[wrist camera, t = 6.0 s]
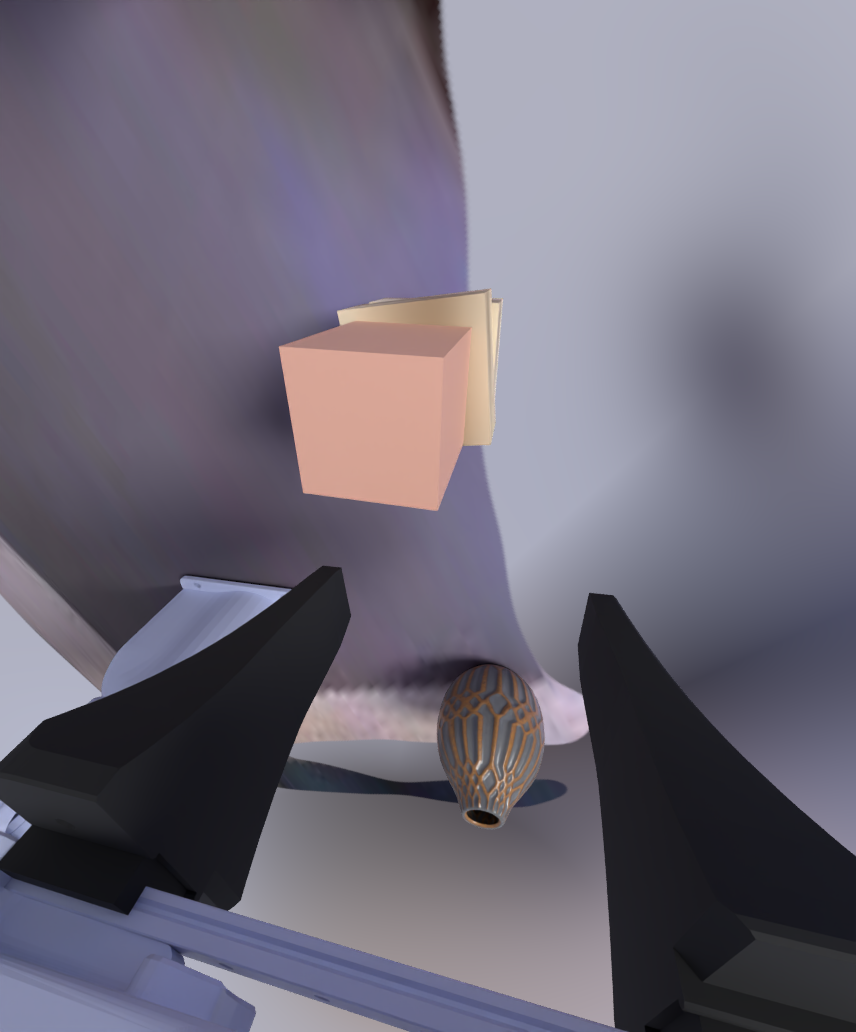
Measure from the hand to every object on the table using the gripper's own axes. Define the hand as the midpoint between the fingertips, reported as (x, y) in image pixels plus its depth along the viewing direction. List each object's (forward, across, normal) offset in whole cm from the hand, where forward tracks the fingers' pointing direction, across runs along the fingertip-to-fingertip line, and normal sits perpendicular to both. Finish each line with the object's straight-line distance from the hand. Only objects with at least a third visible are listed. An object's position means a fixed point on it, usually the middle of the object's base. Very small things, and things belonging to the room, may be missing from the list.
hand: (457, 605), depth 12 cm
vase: (+11, -1, +18) cm, 20 cm away
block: (+6, +2, -5) cm, 8 cm away
